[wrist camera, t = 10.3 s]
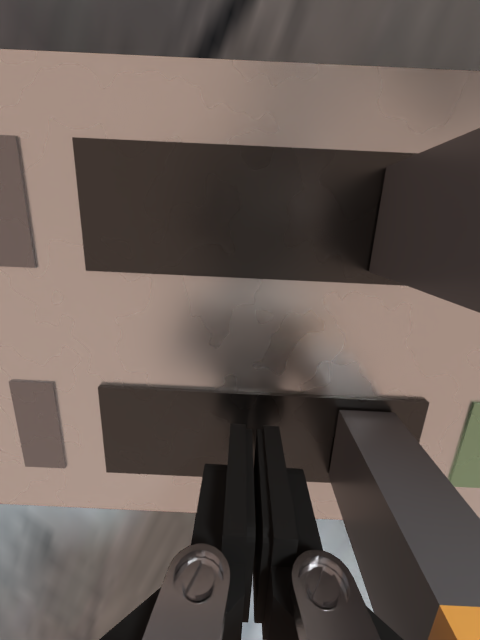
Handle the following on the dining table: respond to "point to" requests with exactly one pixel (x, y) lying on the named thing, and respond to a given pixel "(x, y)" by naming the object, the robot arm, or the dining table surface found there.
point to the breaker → (433, 222)
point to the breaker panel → (214, 273)
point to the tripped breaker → (406, 529)
